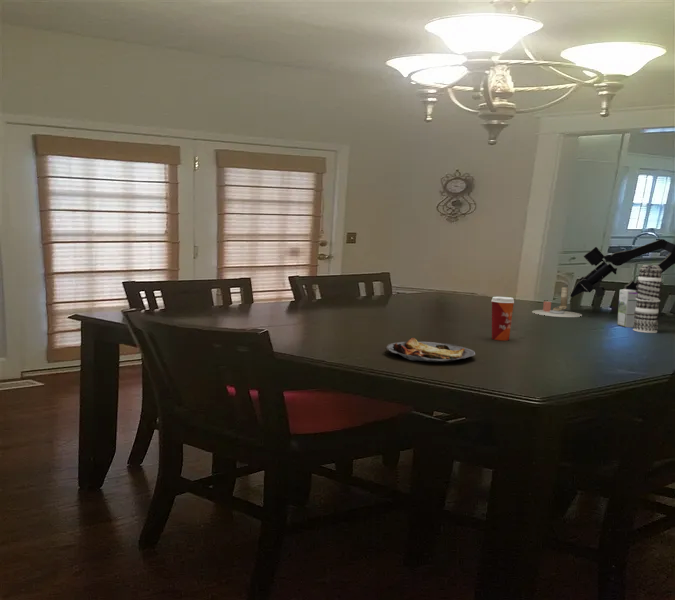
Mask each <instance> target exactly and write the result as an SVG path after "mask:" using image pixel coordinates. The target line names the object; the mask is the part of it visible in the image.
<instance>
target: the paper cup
mask: <svg viewBox="0 0 675 600" xmlns="http://www.w3.org/2000/svg"><path fill="white" fill-rule="evenodd" d="M514 299H515V298H513V297H510V296H509V297H508V296H493V297H492V299H491V300H490V301H491V339H492V340H494V341H503V342H505V341H509V340H510V337H511V328H512V320H513V319H512V318H513V311H514V304H515V300H514Z"/></svg>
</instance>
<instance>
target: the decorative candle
mask: <svg viewBox="0 0 675 600" xmlns="http://www.w3.org/2000/svg"><path fill="white" fill-rule="evenodd" d="M657 265H658V264H657ZM657 265H656V264H643V265H642V266H640V267H639V272H638V277H637V278H638V279H637V280H635V282H636V283H638V285H637V286H636V288H637V290H636V292H637V293H638V294H637V295H636V300H637V304H636V309H635V311H636V312H634V314H636V315H635V316H634V318H636V319H635V320H634V321H633V322H634V323H635V324H634V325H633V327H632V328H633V329H632V331H635V332H638V333H645V334H647V333H648V334H656V333H658V328H659V326H658V325H659V322H658V321H659V317H658V316H660V313H659V303H660V302H661V298H662V296H661V294H662V291H660V290H662V289H663V287H662V286H663V284H664V282H662V274H661V272H662V270H661V268H660V267H659V266H657Z"/></svg>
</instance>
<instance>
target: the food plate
mask: <svg viewBox="0 0 675 600" xmlns="http://www.w3.org/2000/svg"><path fill="white" fill-rule="evenodd" d="M385 350H387V352H390V353H391V354H397V355H400V356H402V358H404V359H406V360H409V361H419V362H428V363H429V362H431V363H447V362H448V363H449V362H455V361H457V360H462V359H464V360H465V359H466V358H467V359H468V358H471V357H473V356H476V352H475V350H473V349H470V348H467V347H465V346H464V347H463V346H461V345H459V344H455V343H446V342H445V343H444V342H435V341H433V342H432V341H422V340H421V341H418V340H417V339H416V338H415V337H410V338H409V339H408V340H407V341H399V342H392V343H388V344H387V345H386V346H385Z"/></svg>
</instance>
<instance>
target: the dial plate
mask: <svg viewBox="0 0 675 600" xmlns="http://www.w3.org/2000/svg"><path fill="white" fill-rule="evenodd" d="M531 313H532V314H534V313H535V315H538V314H539V315H540V316H544V315H545V317H553V318H554V317H555V318H580V316H581V317H583V314H582V313H579V312H573V311H565V310H560V311H557V310H553V309H551V310H550V311H543V309H534V310H532V311H531ZM539 315H538V316H539Z"/></svg>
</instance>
